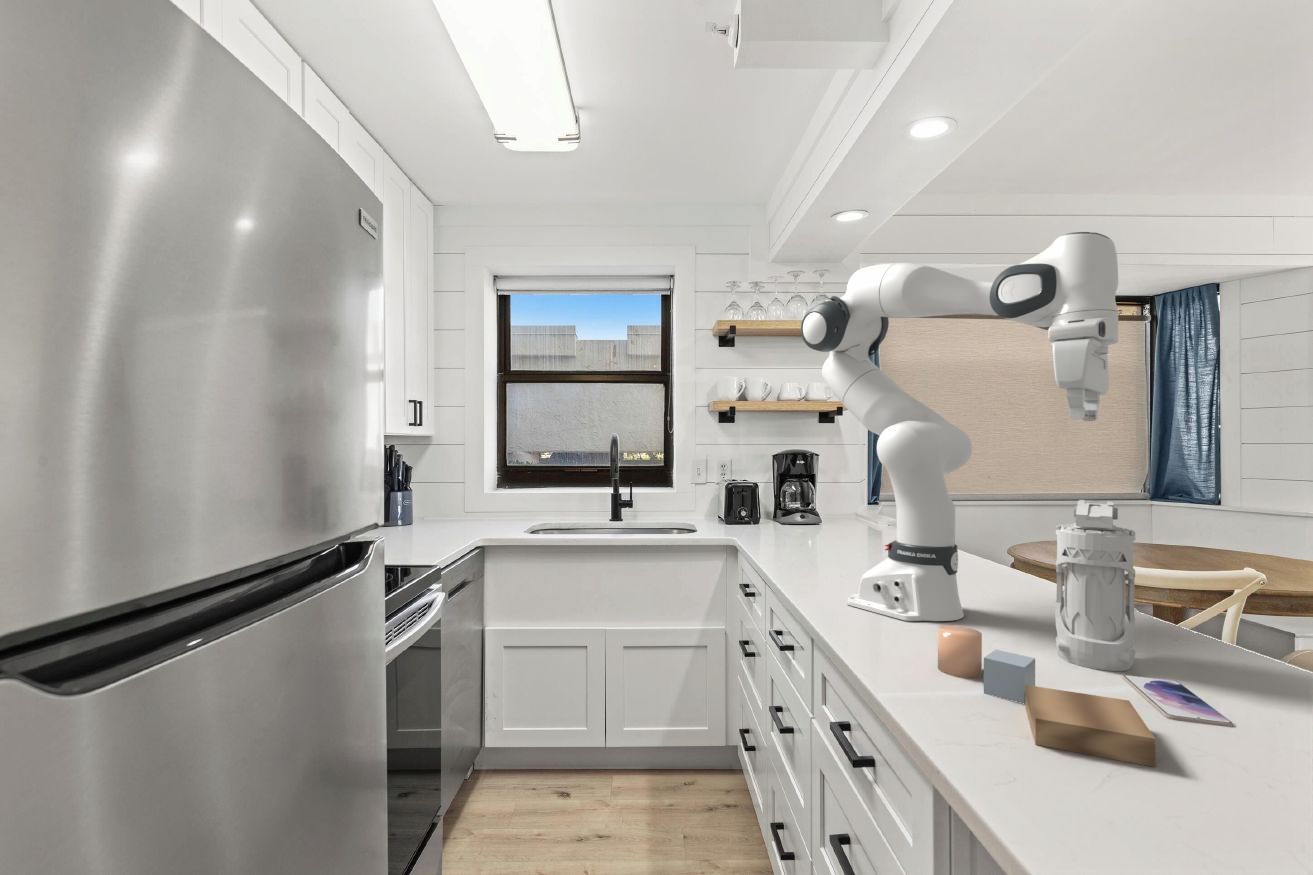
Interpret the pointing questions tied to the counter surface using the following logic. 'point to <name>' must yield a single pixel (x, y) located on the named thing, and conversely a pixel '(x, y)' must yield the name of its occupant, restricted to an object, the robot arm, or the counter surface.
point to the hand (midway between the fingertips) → (1083, 420)
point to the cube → (1008, 675)
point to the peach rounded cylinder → (960, 651)
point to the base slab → (1089, 725)
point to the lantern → (1095, 589)
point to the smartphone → (1176, 701)
